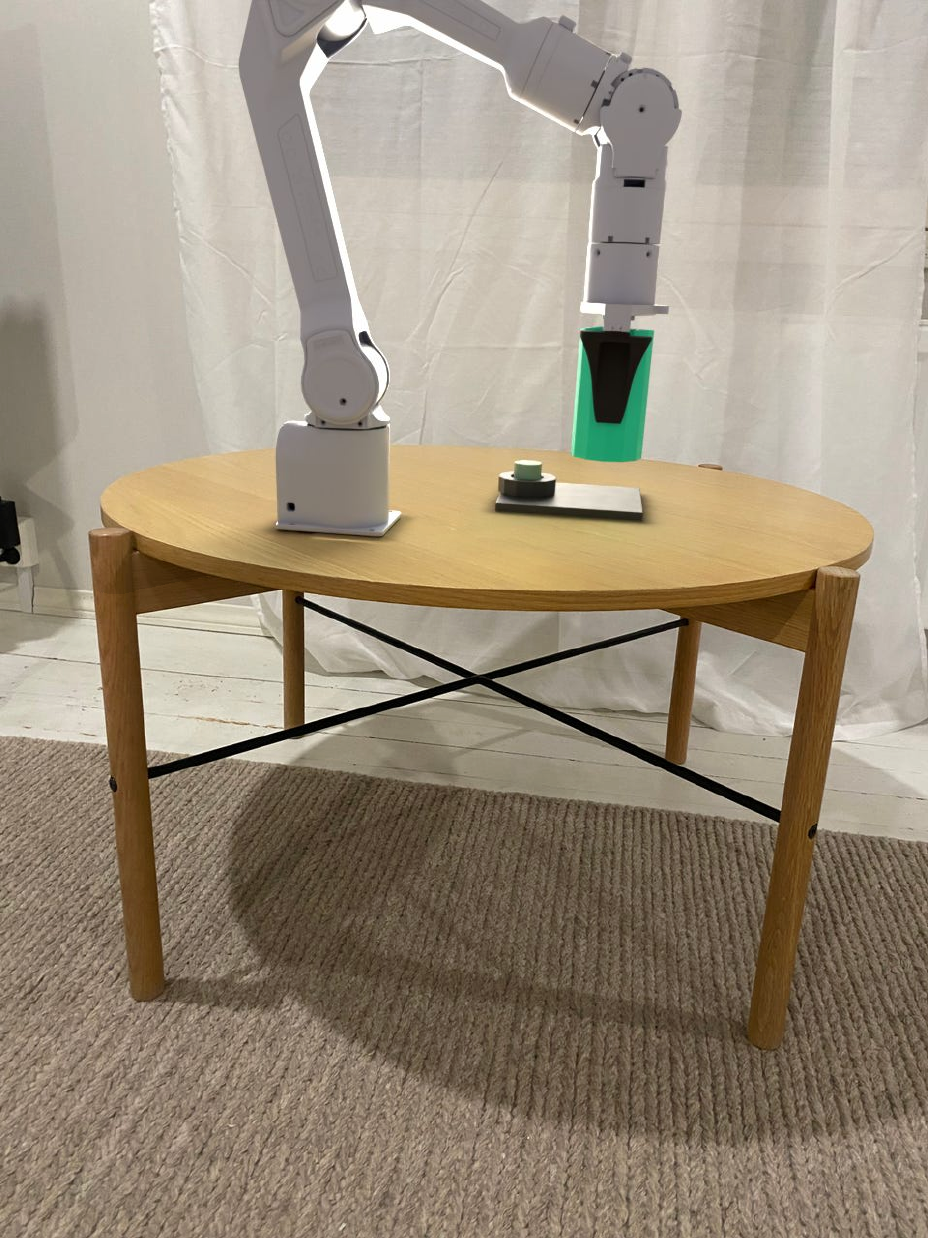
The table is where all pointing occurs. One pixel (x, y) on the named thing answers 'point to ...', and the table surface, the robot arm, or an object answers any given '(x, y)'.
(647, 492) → the table surface
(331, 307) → the robot arm
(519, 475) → the button
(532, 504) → the scale
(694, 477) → the table surface
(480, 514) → the table surface
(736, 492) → the table surface
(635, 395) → the candle
